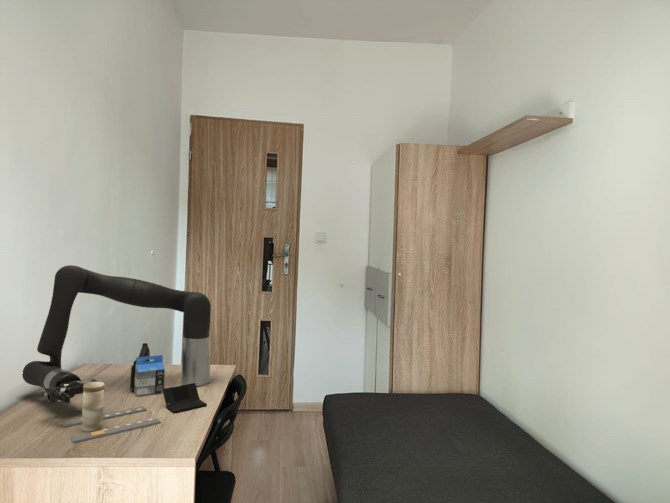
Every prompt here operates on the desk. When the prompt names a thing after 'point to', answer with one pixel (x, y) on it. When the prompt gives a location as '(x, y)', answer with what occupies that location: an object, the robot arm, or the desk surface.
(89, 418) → the cream stub
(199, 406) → the handheld gaming console
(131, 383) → the black tall piece
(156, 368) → the label tape cartridge
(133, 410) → the dashed lane plates
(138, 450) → the desk surface
